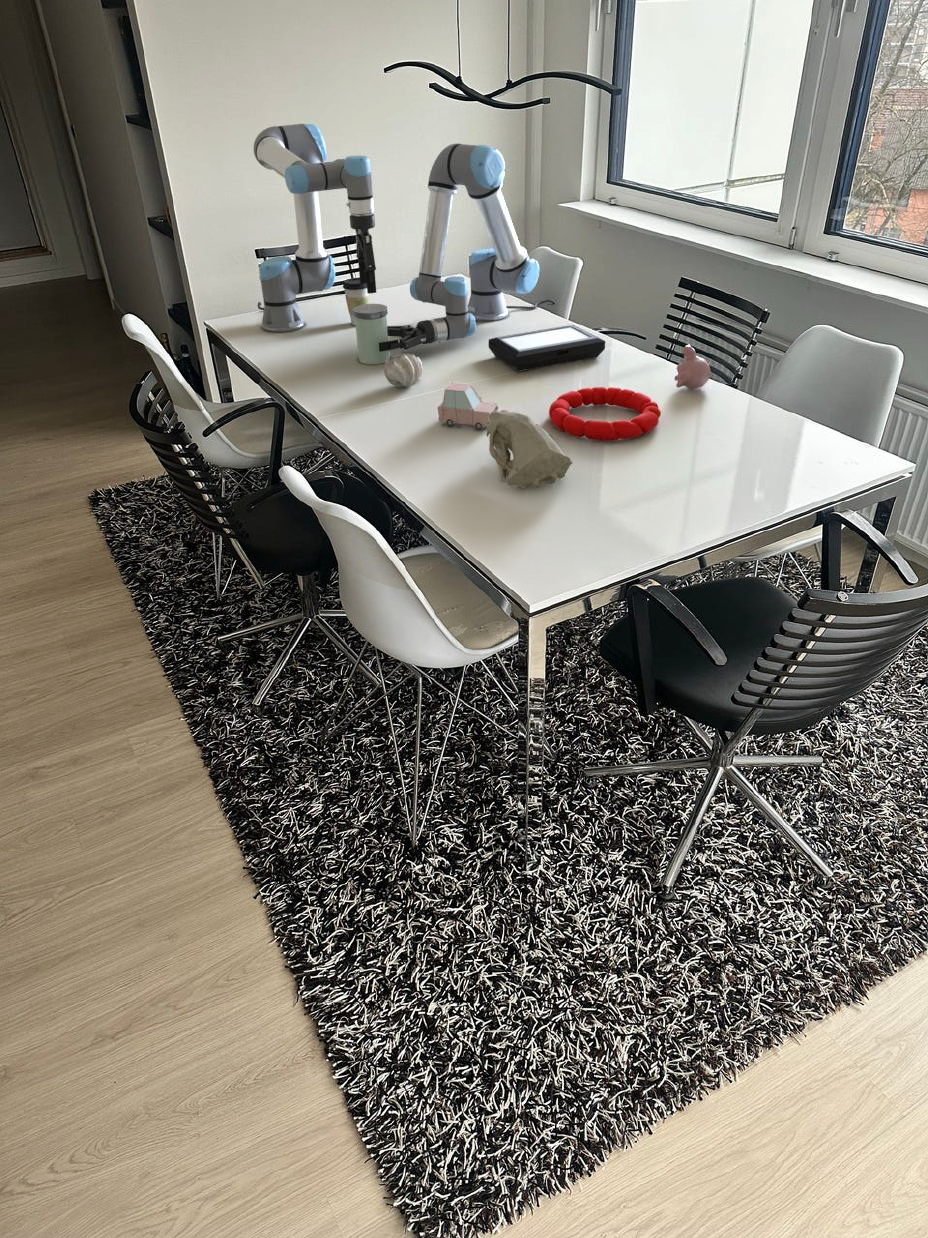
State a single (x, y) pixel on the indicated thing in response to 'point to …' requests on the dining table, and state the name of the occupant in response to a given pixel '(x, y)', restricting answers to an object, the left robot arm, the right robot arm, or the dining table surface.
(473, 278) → the right robot arm
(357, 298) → the coffee cup
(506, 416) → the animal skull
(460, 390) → the toy car
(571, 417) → the decorative ring
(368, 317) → the lid
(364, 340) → the jar
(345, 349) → the dining table surface
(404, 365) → the seashell
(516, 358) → the electronic device
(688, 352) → the figurine
